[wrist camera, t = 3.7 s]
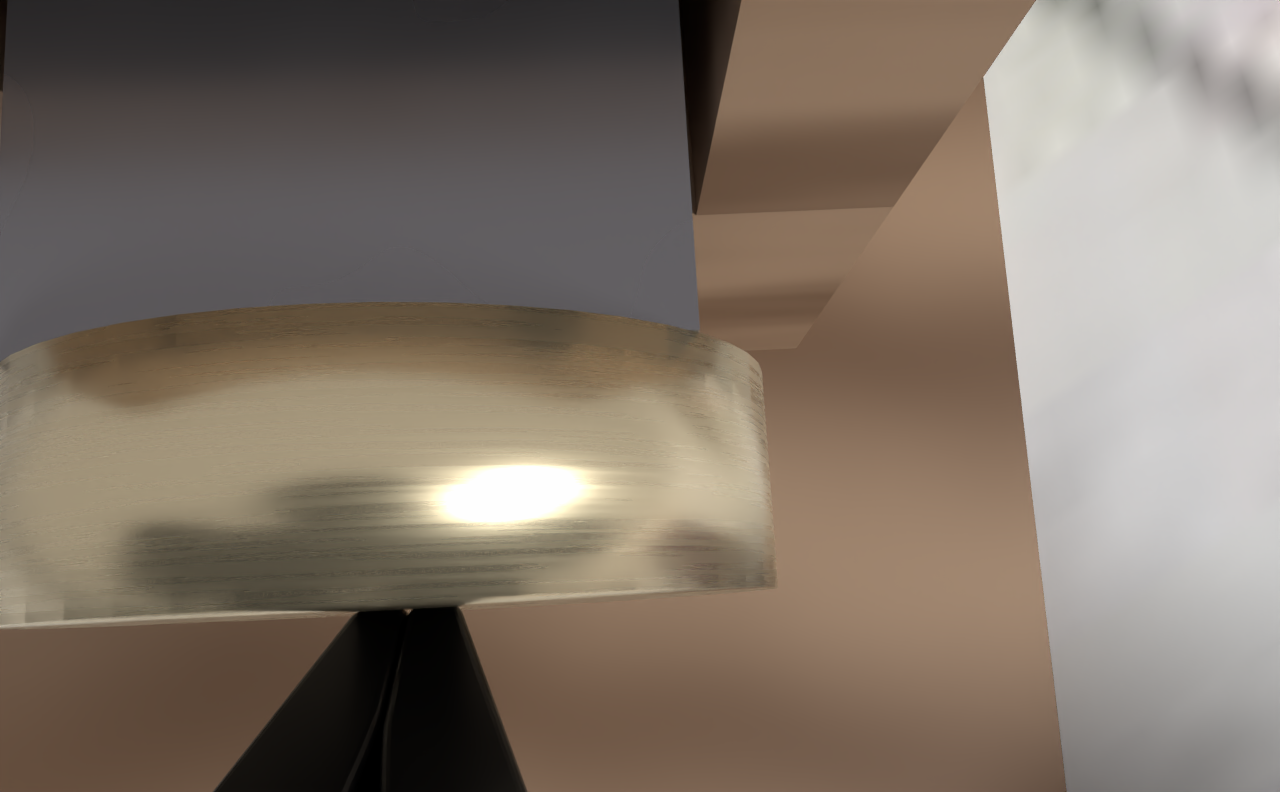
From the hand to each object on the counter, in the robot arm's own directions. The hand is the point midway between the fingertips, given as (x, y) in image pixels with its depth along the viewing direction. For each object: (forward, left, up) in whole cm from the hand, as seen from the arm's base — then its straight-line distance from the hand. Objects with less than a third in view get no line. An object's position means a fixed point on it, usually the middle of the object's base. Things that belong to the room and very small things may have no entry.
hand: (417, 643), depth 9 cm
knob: (+3, +2, -2) cm, 4 cm away
